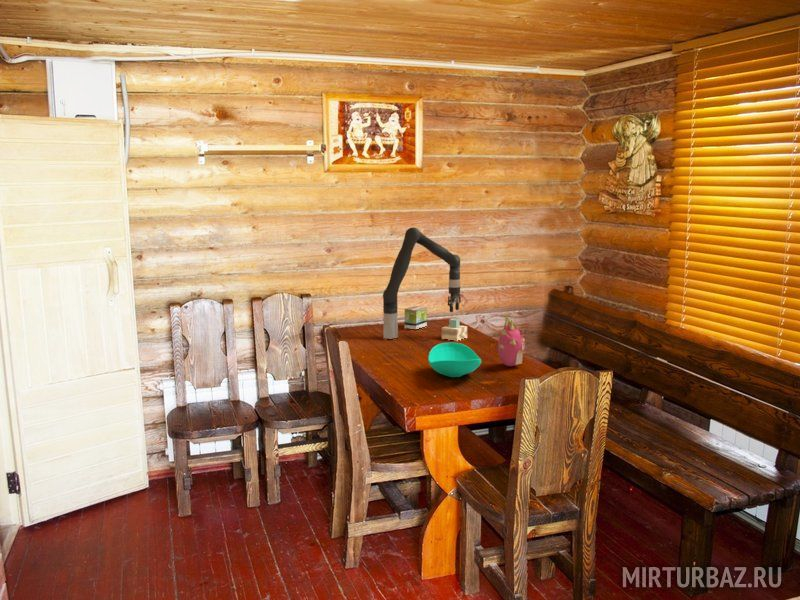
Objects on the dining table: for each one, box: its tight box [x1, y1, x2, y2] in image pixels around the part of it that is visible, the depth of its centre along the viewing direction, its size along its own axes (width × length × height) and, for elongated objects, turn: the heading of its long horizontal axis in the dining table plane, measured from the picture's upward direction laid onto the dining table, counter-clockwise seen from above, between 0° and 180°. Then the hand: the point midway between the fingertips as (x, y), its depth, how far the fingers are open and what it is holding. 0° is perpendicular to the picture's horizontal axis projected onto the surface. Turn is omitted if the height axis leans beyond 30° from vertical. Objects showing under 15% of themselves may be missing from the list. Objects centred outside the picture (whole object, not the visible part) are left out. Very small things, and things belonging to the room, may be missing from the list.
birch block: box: [441, 324, 468, 342], centre depth 453 cm, size 12×12×8 cm
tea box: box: [404, 305, 428, 330], centre depth 486 cm, size 15×10×15 cm, turn 149°
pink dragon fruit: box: [497, 312, 526, 367], centre depth 383 cm, size 18×14×30 cm
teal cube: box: [448, 317, 460, 328], centre depth 452 cm, size 5×5×5 cm
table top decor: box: [427, 342, 482, 378], centre depth 369 cm, size 40×28×13 cm
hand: (454, 310), depth 451 cm, fingers open, 8 cm apart
